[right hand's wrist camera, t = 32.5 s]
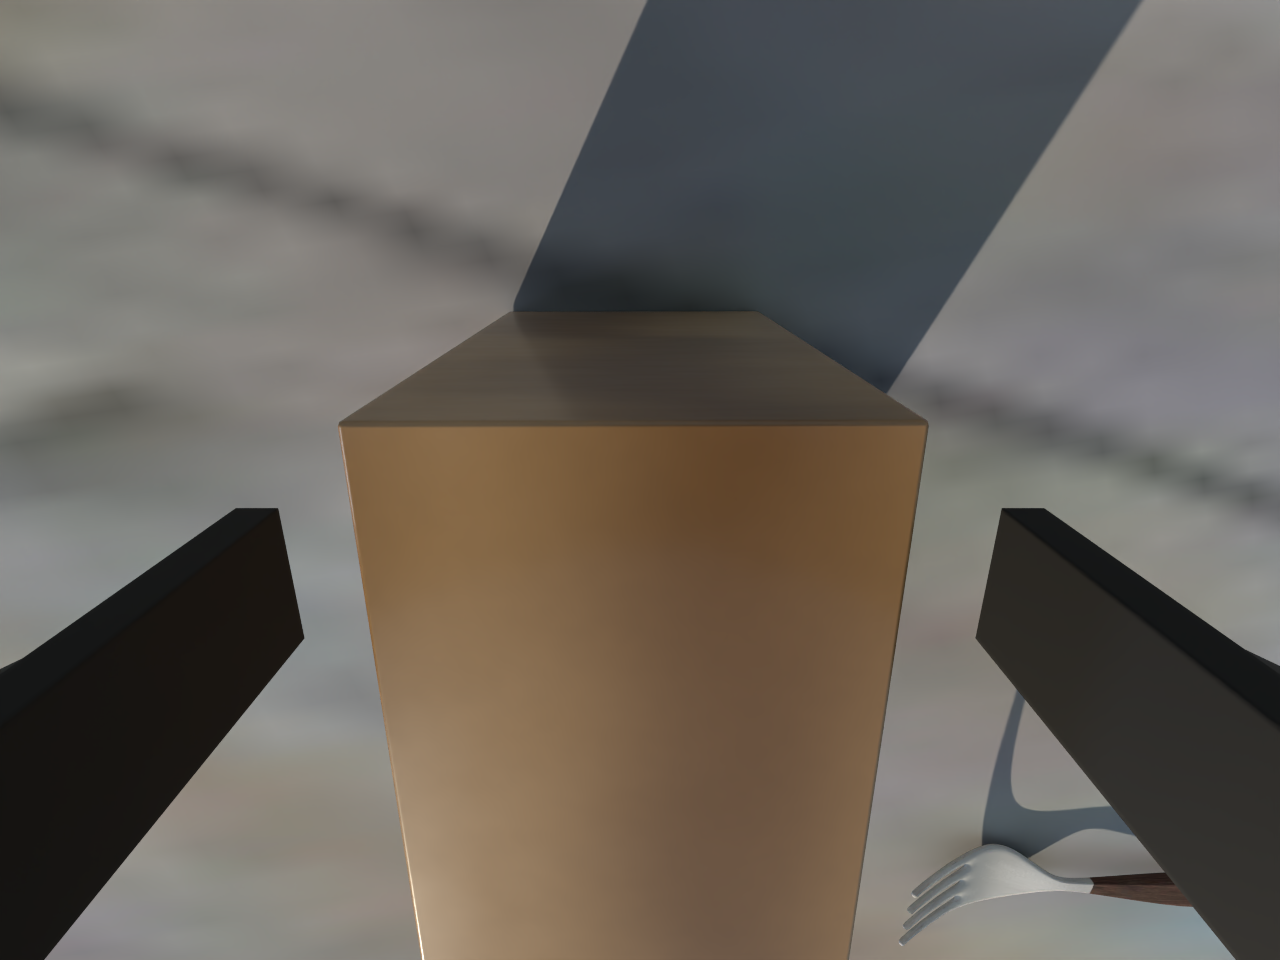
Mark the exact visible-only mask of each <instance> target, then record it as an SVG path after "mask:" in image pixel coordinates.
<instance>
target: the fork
mask: <svg viewBox="0 0 1280 960" xmlns="http://www.w3.org/2000/svg"><path fill="white" fill-rule="evenodd" d="M962 865H964V866H963V867H962V868H960V869H959V870H957V871H956V872H954V873H953V874H951V875H950V876H948V877H947V878H945V879H944V880H942V881H941V882H940V883H938V884H937V885H935V886H934V887H933V888H931V889H930V890H929V891H927V892H926V893H925V894H924V895H922V896H921V897H920V898H919V899H917V900H916V901H915V902H914V903H913V904H912V905H910V906H909V907H908V909H907V911H908V912H909V913H911V914H913V913H914V912H915V911H916V910H917V909H918V908H919V907H921V906H922V905H923V904H924V903H926V902H927V901H928V900H930V899H931V898H932V897H934V896H935V895H937V894H938V893H939V892H941V891H942V890H944V889H945V888H947V887H948V886H950V885H952V884H954V883H955V882H957V881H959V882H958V883H957V884H955V885H954V886H952V887H951V888H949V889H948V890H946V891H945V892H943V893H942V894H940V895H939V896H937V897H936V898H935V899H933V900H932V901H931V902H929V903H928V904H927V905H925V906H924V907H923V908H922V909H920V910H919V911H918V912H917V913H915V914H914V915H913V916H912V917H911V918H909V919H908V920H907V921H906V922H905V923H904V924H903V927H904V928H905V929H906V930H908V929H909V928H911V927H912V926H913V925H914V924H915V923H916V922H917V921H919V920H920V919H921V918H922V917H924V916H925V915H926V914H928V913H929V912H930V911H932V910H933V909H934V908H936V907H937V906H939V905H940V904H942V903H943V902H945V901H946V900H948V899H950V898H952V897H954V896H955V897H954V898H953V899H951V900H950V901H948V902H947V903H945V904H944V905H942V906H941V907H939V908H938V909H936V910H935V911H934V912H932V913H931V914H929V915H928V916H927V917H926V918H924V919H923V920H922V921H920V922H919V923H918V924H917V925H915V926H914V927H913V928H912V929H911V930H909V931H908V932H907V933H906V934H905V935H904V936H903V937H902V938H901V939H900V940H899V944H900V945H902V946H904V945H905V944H906V943H907V942H908V941H909V940H910V939H911V938H913V937H914V936H915V935H916V934H917V933H919V932H920V931H921V930H923V929H924V928H925V927H927V926H928V925H929V924H931V923H932V922H934V921H935V920H936V919H938V918H939V917H941V916H942V915H944V914H946V913H948V912H949V911H951V910H953V909H956V908H958V907H961V906H964V905H967V904H970V903H974V902H978V901H982V900H987V899H992V898H998V897H1004V896H1010V895H1017V894H1024V893H1032V892H1042V891H1073V892H1083V893H1090V894H1097V895H1104V896H1110V897H1117V898H1124V899H1130V900H1137V901H1143V902H1151V903H1158V904H1166V905H1175V906H1189V907H1193V906H1192V905H1191V904H1190V902H1189V901H1188V900H1187V899H1186V897H1185V896H1184V895H1183V894H1182V893H1181V891H1180V890H1179V889H1178V888H1177V886H1176V885H1175V884H1174V883H1173V881H1172V880H1171V879H1170V878H1169V876H1168V875H1167V874H1166V873H1150V874H1134V875H1120V876H1106V877H1091V878H1063V877H1058V876H1055V875H1052V874H1050V873H1048V872H1047V871H1045V870H1043V869H1042V868H1040V867H1039V866H1037V865H1036V864H1035V863H1033V862H1032V861H1031V860H1029V859H1028V858H1026V857H1025V856H1023V855H1022V854H1020V853H1019V852H1017V851H1015V850H1014V849H1012V848H1009V847H1007V846H1004V845H999V844H987V845H983V846H980V847H977V848H975V849H973V850H971V851H969V852H967V853H965V854H963V855H961V856H960V857H958V858H956V859H955V860H953V861H952V862H950V863H948V864H947V865H946V866H944V867H943V868H941V869H940V870H939V871H937V872H936V873H934V874H933V875H932V876H930V877H929V878H928V879H927V880H925V881H924V882H923V883H921V884H920V885H919V886H918V887H917V888H916V889H914V890H913V891H912V896H913V897H915V898H916V897H918V896H919V895H920V894H921V893H922V892H923V891H925V890H926V889H927V888H928V887H930V886H931V885H933V884H934V883H935V882H937V881H938V880H940V879H941V878H942V877H944V876H945V875H947V874H949V873H950V872H952V871H953V870H955V869H957V868H958V867H960V866H962Z"/></svg>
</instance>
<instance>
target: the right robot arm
mask: <svg viewBox="0 0 1280 960" xmlns="http://www.w3.org/2000/svg"><path fill="white" fill-rule="evenodd" d="M303 639H304V634H303V629H302V624H301V619H300V614H299V609H298V604H297V599H296V594H295V589H294V584H293V579H292V575H291V570H290V565H289V560H288V555H287V550H286V545H285V540H284V535H283V530H282V525H281V520H280V515H279V510H278V508H236V509H234V510H233V511H231V512H230V513H228V514H227V515H226V516H224V517H223V518H221V519H220V520H218V521H217V522H216V523H214V524H213V525H211V526H210V527H209V528H207V529H206V530H204V531H203V532H201V533H200V534H199V535H197V536H196V537H194V538H193V539H192V540H190V541H189V542H187V543H186V544H184V545H183V546H182V547H180V548H179V549H177V550H176V551H174V552H173V553H172V554H170V555H169V556H167V557H166V558H165V559H163V560H162V561H160V562H159V563H157V564H156V565H155V566H153V567H152V568H150V569H149V570H147V571H146V572H145V573H143V574H142V575H140V576H139V577H138V578H136V579H135V580H133V581H132V582H130V583H129V584H128V585H126V586H125V587H123V588H122V589H120V590H119V591H118V592H116V593H115V594H113V595H112V596H111V597H109V598H108V599H106V600H105V601H103V602H102V603H101V604H99V605H98V606H96V607H95V608H94V609H92V610H91V611H89V612H88V613H86V614H85V615H84V616H82V617H81V618H79V619H78V620H76V621H75V622H74V623H72V624H71V625H69V626H68V627H67V628H65V629H64V630H62V631H61V632H59V633H58V634H57V635H55V636H54V637H52V638H51V639H49V640H48V641H47V642H45V643H44V644H42V645H41V646H40V647H38V648H37V649H35V650H34V651H32V652H31V653H30V654H28V655H27V656H25V657H24V658H22V659H20V660H18V661H16V662H14V663H12V664H10V665H8V666H6V667H4V668H2V669H0V960H44V959H45V958H46V957H47V956H48V954H49V953H50V952H51V951H52V949H53V948H54V947H55V946H56V944H57V943H58V942H59V941H60V939H61V938H62V937H63V936H64V935H65V933H66V932H67V931H68V930H69V928H70V927H71V926H72V925H73V923H74V922H75V921H76V920H77V918H78V917H79V916H80V915H81V914H82V912H83V911H84V910H85V909H86V907H87V906H88V905H89V904H90V902H91V901H92V900H93V899H94V897H95V896H96V895H97V894H98V893H99V891H100V890H101V889H102V888H103V886H104V885H105V884H106V883H107V881H108V880H109V879H110V878H111V876H112V875H113V874H114V873H115V872H116V870H117V869H118V868H119V867H120V865H121V864H122V863H123V862H124V860H125V859H126V858H127V857H128V855H129V854H130V853H131V852H132V851H133V849H134V848H135V847H136V846H137V844H138V843H139V842H140V841H141V839H142V838H143V837H144V836H145V834H146V833H147V832H148V831H149V830H150V828H151V827H152V826H153V825H154V823H155V822H156V821H157V820H158V818H159V817H160V816H161V815H162V814H163V812H164V811H165V810H166V809H167V807H168V806H169V805H170V804H171V802H172V801H173V800H174V799H175V797H176V796H177V795H178V794H179V793H180V791H181V790H182V789H183V788H184V786H185V785H186V784H187V783H188V781H189V780H190V779H191V778H192V776H193V775H194V774H195V773H196V772H197V770H198V769H199V768H200V767H201V765H202V764H203V763H204V762H205V760H206V759H207V758H208V757H209V755H210V754H211V753H212V752H213V751H214V749H215V748H216V747H217V746H218V744H219V743H220V742H221V741H222V739H223V738H224V737H225V736H226V734H227V733H228V732H229V731H230V730H231V728H232V727H233V726H234V725H235V723H236V722H237V721H238V720H239V718H240V717H241V716H242V715H243V713H244V712H245V711H246V710H247V709H248V707H249V706H250V705H251V704H252V702H253V701H254V700H255V699H256V697H257V696H258V695H259V694H260V692H261V691H262V690H263V689H264V688H265V686H266V685H267V684H268V683H269V681H270V680H271V679H272V678H273V676H274V675H275V674H276V673H277V671H278V670H279V669H280V668H281V667H282V665H283V664H284V663H285V662H286V660H287V659H288V658H289V657H290V655H291V654H292V653H293V652H294V650H295V649H296V648H297V647H298V646H299V644H300V643H301V642H302V641H303ZM976 639H977V641H978V642H979V643H980V644H981V646H982V647H983V648H984V649H985V650H986V652H987V653H988V654H989V655H990V657H991V658H992V659H993V660H994V662H995V663H996V664H997V665H998V667H999V668H1000V669H1001V670H1002V671H1003V673H1004V674H1005V675H1006V676H1007V678H1008V679H1009V680H1010V681H1011V683H1012V684H1013V685H1014V686H1015V688H1016V689H1017V690H1018V691H1019V692H1020V694H1021V695H1022V696H1023V697H1024V699H1025V700H1026V701H1027V702H1028V704H1029V705H1030V706H1031V707H1032V709H1033V710H1034V711H1035V712H1036V713H1037V715H1038V716H1039V717H1040V718H1041V720H1042V721H1043V722H1044V723H1045V725H1046V726H1047V727H1048V728H1049V730H1050V731H1051V732H1052V733H1053V734H1054V736H1055V737H1056V738H1057V739H1058V741H1059V742H1060V743H1061V744H1062V746H1063V747H1064V748H1065V749H1066V751H1067V752H1068V753H1069V754H1070V755H1071V757H1072V758H1073V759H1074V760H1075V762H1076V763H1077V764H1078V765H1079V767H1080V768H1081V769H1082V770H1083V772H1084V773H1085V774H1086V775H1087V776H1088V778H1089V779H1090V780H1091V781H1092V783H1093V784H1094V785H1095V786H1096V788H1097V789H1098V790H1099V791H1100V793H1101V794H1102V795H1103V796H1104V797H1105V799H1106V800H1107V801H1108V802H1109V804H1110V805H1111V806H1112V807H1113V809H1114V810H1115V811H1116V812H1117V814H1118V815H1119V816H1120V817H1121V818H1122V820H1123V821H1124V822H1125V823H1126V825H1127V826H1128V827H1129V828H1130V830H1131V831H1132V832H1133V833H1134V835H1135V836H1136V837H1137V838H1138V839H1139V841H1140V842H1141V843H1142V844H1143V846H1144V847H1145V848H1146V849H1147V851H1148V852H1149V853H1150V854H1151V855H1152V857H1153V858H1154V859H1155V860H1156V862H1157V863H1158V864H1159V865H1160V867H1161V868H1162V869H1163V870H1164V872H1165V873H1166V874H1167V875H1168V876H1169V878H1170V879H1171V880H1172V881H1173V883H1174V884H1175V885H1176V886H1177V888H1178V889H1179V890H1180V891H1181V893H1182V894H1183V895H1184V896H1185V897H1186V899H1187V900H1188V901H1189V902H1190V904H1191V905H1192V906H1193V907H1194V909H1195V910H1196V911H1197V912H1198V914H1199V915H1200V916H1201V917H1202V918H1203V920H1204V921H1205V922H1206V923H1207V925H1208V926H1209V927H1210V928H1211V930H1212V931H1213V932H1214V933H1215V935H1216V936H1217V937H1218V938H1219V939H1220V941H1221V942H1222V943H1223V944H1224V946H1225V947H1226V948H1227V949H1228V951H1229V952H1230V953H1231V954H1232V956H1233V957H1234V958H1235V959H1236V960H1280V666H1279V665H1276V664H1274V663H1272V662H1270V661H1268V660H1266V659H1264V658H1262V657H1260V656H1258V655H1255V654H1253V653H1251V652H1249V651H1247V650H1245V649H1243V648H1242V647H1240V646H1239V645H1238V644H1236V643H1235V642H1233V641H1232V640H1231V639H1229V638H1228V637H1226V636H1225V635H1223V634H1222V633H1221V632H1219V631H1218V630H1216V629H1215V628H1213V627H1212V626H1211V625H1209V624H1208V623H1206V622H1205V621H1204V620H1202V619H1201V618H1199V617H1198V616H1196V615H1195V614H1194V613H1192V612H1191V611H1189V610H1188V609H1186V608H1185V607H1184V606H1182V605H1181V604H1179V603H1178V602H1177V601H1175V600H1174V599H1172V598H1171V597H1169V596H1168V595H1167V594H1165V593H1164V592H1162V591H1161V590H1159V589H1158V588H1157V587H1155V586H1154V585H1152V584H1151V583H1150V582H1148V581H1147V580H1145V579H1144V578H1142V577H1141V576H1140V575H1138V574H1137V573H1135V572H1134V571H1133V570H1131V569H1130V568H1128V567H1127V566H1125V565H1124V564H1123V563H1121V562H1120V561H1118V560H1117V559H1115V558H1114V557H1113V556H1111V555H1110V554H1108V553H1107V552H1106V551H1104V550H1103V549H1101V548H1100V547H1098V546H1097V545H1096V544H1094V543H1093V542H1091V541H1090V540H1088V539H1087V538H1086V537H1084V536H1083V535H1081V534H1080V533H1079V532H1077V531H1076V530H1074V529H1073V528H1071V527H1070V526H1069V525H1067V524H1066V523H1064V522H1063V521H1062V520H1060V519H1059V518H1057V517H1056V516H1054V515H1053V514H1052V513H1050V512H1049V511H1047V510H1046V509H1044V508H1002V510H1001V515H1000V520H999V525H998V530H997V535H996V540H995V545H994V550H993V555H992V560H991V565H990V570H989V575H988V579H987V584H986V589H985V594H984V599H983V604H982V609H981V614H980V619H979V624H978V629H977V634H976Z"/></svg>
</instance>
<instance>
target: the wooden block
mask: <svg viewBox="0 0 1280 960" xmlns="http://www.w3.org/2000/svg"><path fill="white" fill-rule="evenodd" d="M928 427H929V425H928V421H927V420H925V419H924V418H922V417H921V416H919V415H918V414H916V413H915V412H913V411H911V410H910V409H908V408H907V407H905V406H904V405H902V404H901V403H899V402H897V401H896V400H894V399H893V398H891V397H890V396H888V395H887V394H885V393H884V392H882V391H880V390H879V389H877V388H876V387H874V386H873V385H871V384H870V383H868V382H867V381H865V380H863V379H862V378H860V377H859V376H857V375H856V374H854V373H853V372H851V371H849V370H848V369H846V368H845V367H843V366H842V365H840V364H839V363H837V362H836V361H834V360H832V359H831V358H829V357H828V356H826V355H825V354H823V353H822V352H820V351H819V350H817V349H815V348H814V347H812V346H811V345H809V344H808V343H806V342H805V341H803V340H801V339H800V338H798V337H797V336H795V335H794V334H792V333H791V332H789V331H788V330H786V329H784V328H783V327H781V326H780V325H778V324H777V323H775V322H774V321H772V320H771V319H769V318H767V317H766V316H764V315H763V314H761V313H760V312H758V311H721V312H509V313H507V314H506V315H504V316H502V317H501V318H499V319H498V320H496V321H495V322H493V323H492V324H490V325H489V326H487V327H485V328H484V329H482V330H481V331H479V332H478V333H476V334H475V335H473V336H472V337H470V338H468V339H467V340H465V341H464V342H462V343H461V344H459V345H458V346H456V347H455V348H453V349H451V350H450V351H448V352H447V353H445V354H444V355H442V356H441V357H439V358H438V359H436V360H435V361H433V362H431V363H430V364H428V365H427V366H425V367H424V368H422V369H421V370H419V371H418V372H416V373H414V374H413V375H411V376H410V377H408V378H407V379H405V380H404V381H402V382H401V383H399V384H397V385H396V386H394V387H393V388H391V389H390V390H388V391H387V392H385V393H384V394H382V395H380V396H379V397H377V398H376V399H374V400H373V401H371V402H370V403H368V404H367V405H365V406H363V407H362V408H360V409H359V410H357V411H356V412H354V413H353V414H351V415H350V416H348V417H346V418H345V419H343V420H342V421H340V422H339V425H338V430H339V436H340V442H341V449H342V455H343V461H344V468H345V474H346V481H347V487H348V493H349V500H350V506H351V513H352V519H353V525H354V532H355V538H356V544H357V551H358V557H359V564H360V570H361V576H362V583H363V589H364V595H365V602H366V608H367V615H368V621H369V627H370V634H371V640H372V646H373V653H374V659H375V666H376V672H377V678H378V685H379V691H380V697H381V704H382V710H383V717H384V723H385V729H386V736H387V742H388V748H389V755H390V761H391V768H392V774H393V780H394V787H395V793H396V799H397V806H398V812H399V819H400V825H401V831H402V838H403V844H404V851H405V857H406V863H407V870H408V876H409V882H410V889H411V895H412V902H413V908H414V914H415V921H416V927H417V933H418V940H419V946H420V953H421V959H422V960H849V954H850V948H851V941H852V934H853V928H854V921H855V914H856V908H857V901H858V894H859V888H860V881H861V874H862V868H863V861H864V854H865V848H866V841H867V834H868V827H869V821H870V814H871V807H872V801H873V794H874V787H875V781H876V774H877V767H878V761H879V754H880V747H881V741H882V734H883V727H884V721H885V714H886V707H887V701H888V694H889V687H890V681H891V674H892V667H893V660H894V654H895V647H896V640H897V634H898V627H899V620H900V614H901V607H902V600H903V594H904V587H905V580H906V574H907V567H908V560H909V554H910V547H911V540H912V534H913V527H914V520H915V514H916V507H917V500H918V493H919V487H920V480H921V473H922V467H923V460H924V453H925V447H926V440H927V433H928Z"/></svg>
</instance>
